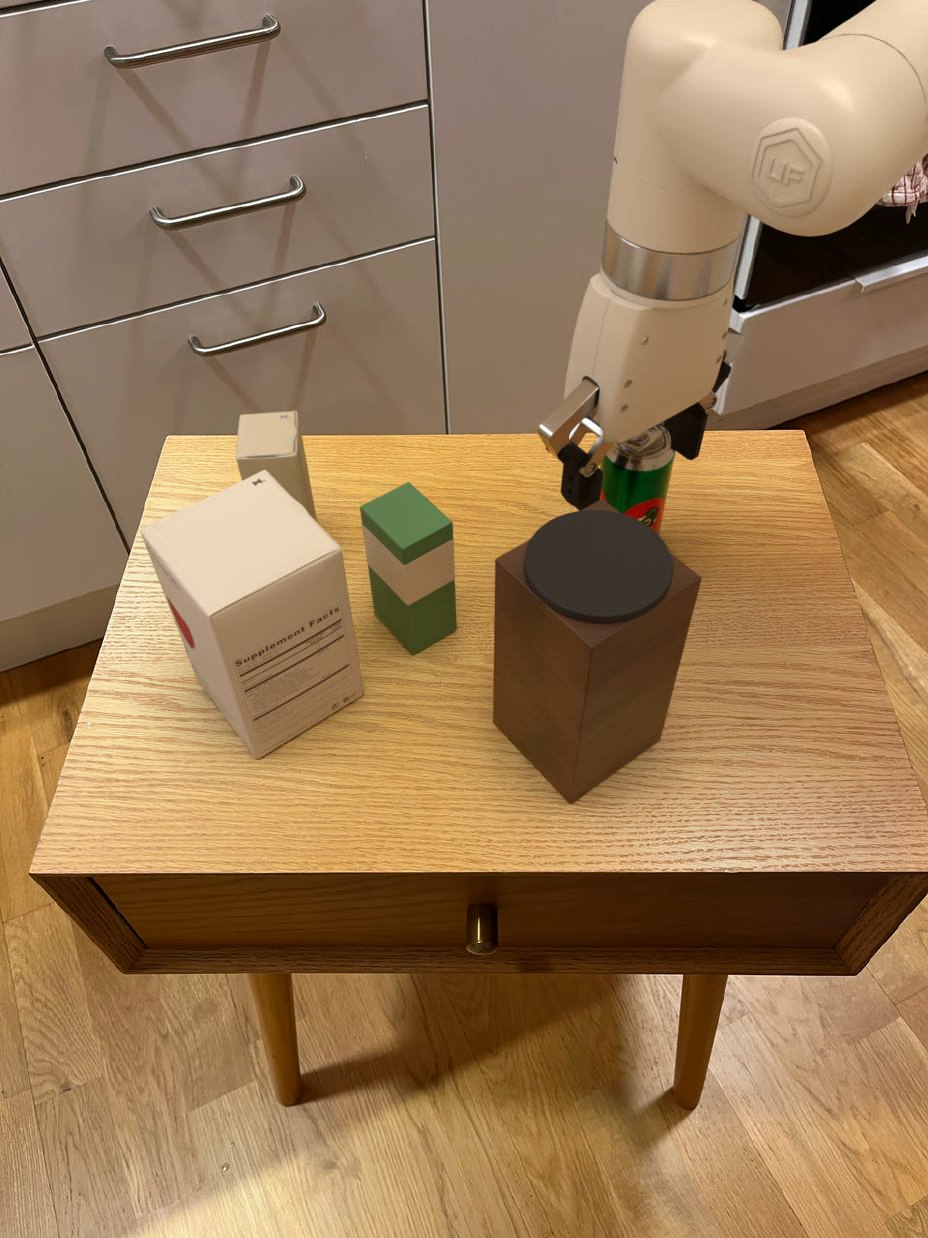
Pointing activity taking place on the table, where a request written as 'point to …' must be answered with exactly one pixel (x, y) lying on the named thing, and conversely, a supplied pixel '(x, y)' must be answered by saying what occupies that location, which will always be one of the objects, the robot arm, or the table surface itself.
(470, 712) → the table surface
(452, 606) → the block
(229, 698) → the rectangular carton
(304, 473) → the box
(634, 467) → the soda can
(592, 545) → the coaster
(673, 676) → the pedestal
